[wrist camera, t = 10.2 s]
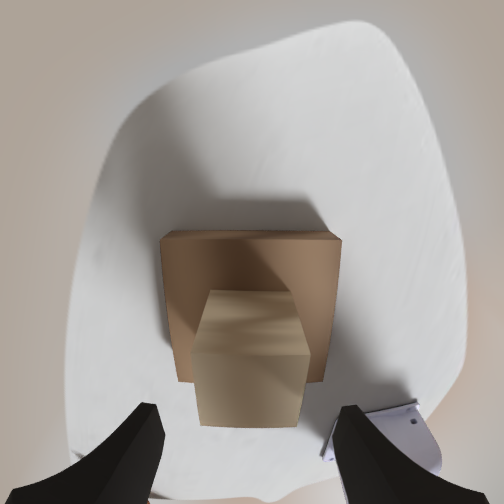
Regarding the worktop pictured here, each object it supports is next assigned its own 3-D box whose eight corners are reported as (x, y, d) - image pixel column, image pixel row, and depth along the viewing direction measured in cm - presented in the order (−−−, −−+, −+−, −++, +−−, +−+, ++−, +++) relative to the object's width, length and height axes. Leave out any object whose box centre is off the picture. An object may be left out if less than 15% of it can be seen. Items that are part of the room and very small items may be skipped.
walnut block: (327, 229, 18) (341, 240, 15) (314, 357, 20) (322, 381, 18) (173, 229, 18) (159, 239, 15) (186, 357, 20) (178, 381, 17)
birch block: (290, 291, 16) (310, 354, 10) (284, 355, 17) (296, 426, 11) (210, 289, 16) (190, 352, 10) (213, 354, 17) (200, 425, 11)
